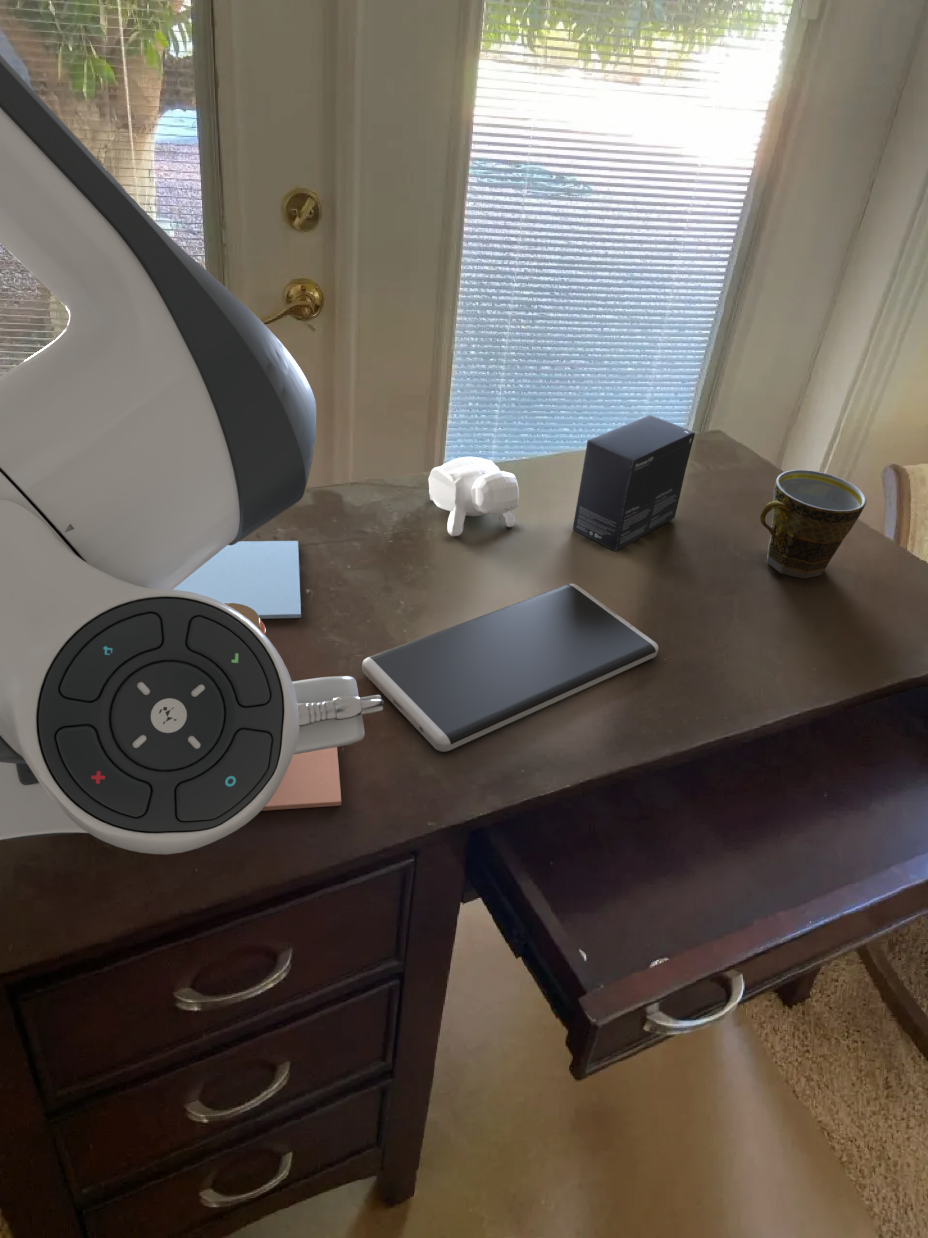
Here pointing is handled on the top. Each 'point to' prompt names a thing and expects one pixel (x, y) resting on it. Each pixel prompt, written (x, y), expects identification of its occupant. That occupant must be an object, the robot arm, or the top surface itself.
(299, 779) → the clay mat
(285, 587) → the blue mat
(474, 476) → the white sheep figurine
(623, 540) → the small box
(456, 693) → the smartphone
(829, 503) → the ceramic cup
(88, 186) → the robot arm
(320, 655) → the top surface
